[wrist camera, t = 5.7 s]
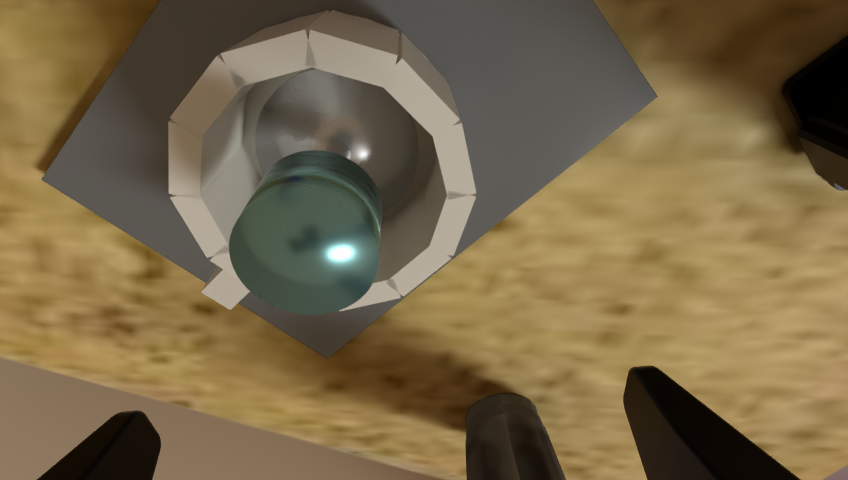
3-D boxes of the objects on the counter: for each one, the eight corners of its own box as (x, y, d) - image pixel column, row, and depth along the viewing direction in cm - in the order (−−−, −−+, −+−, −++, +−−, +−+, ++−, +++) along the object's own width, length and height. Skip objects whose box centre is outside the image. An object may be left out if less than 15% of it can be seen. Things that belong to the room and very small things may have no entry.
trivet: (376, -313, 12) (375, -322, 12) (651, 93, 18) (657, 96, 18) (49, 174, 19) (41, 179, 19) (328, 352, 25) (327, 358, 25)
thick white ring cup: (327, -52, 15) (298, -52, 11) (502, 139, 19) (531, 194, 14) (157, 164, 19) (86, 226, 14) (331, 287, 22) (315, 366, 18)
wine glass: (329, 26, 15) (278, 80, 9) (450, 147, 18) (477, 257, 11) (226, 147, 17) (127, 260, 11) (347, 241, 20) (322, 377, 14)
